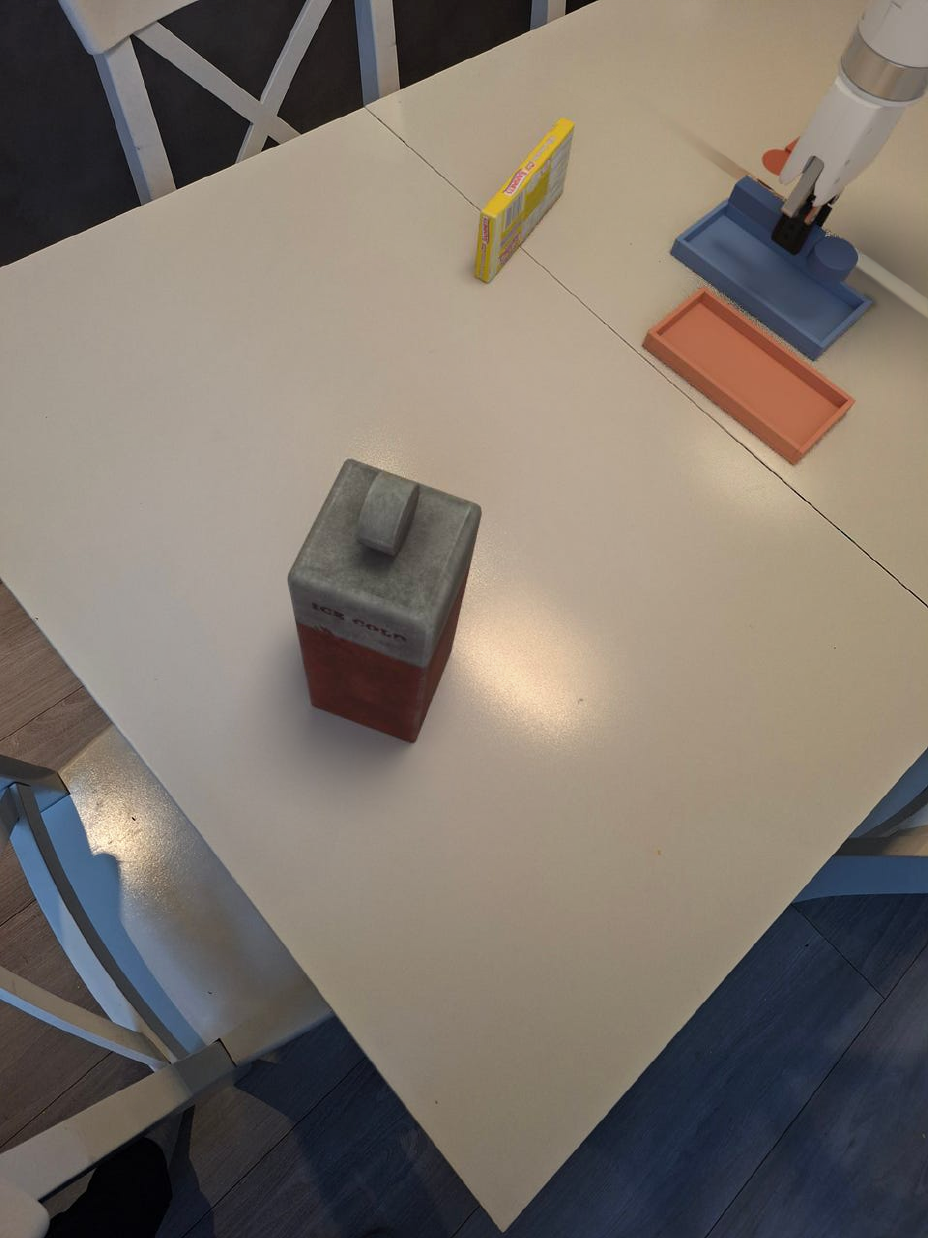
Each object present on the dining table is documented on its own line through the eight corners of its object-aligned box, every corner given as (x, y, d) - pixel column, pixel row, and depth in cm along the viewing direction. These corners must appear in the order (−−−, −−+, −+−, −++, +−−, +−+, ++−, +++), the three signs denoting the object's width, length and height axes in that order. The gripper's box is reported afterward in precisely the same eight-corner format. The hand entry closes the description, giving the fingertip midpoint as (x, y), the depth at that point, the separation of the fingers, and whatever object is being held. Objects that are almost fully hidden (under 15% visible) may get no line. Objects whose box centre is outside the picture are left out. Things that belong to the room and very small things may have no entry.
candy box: (546, 184, 97) (561, 114, 90) (563, 192, 97) (579, 123, 89) (471, 275, 91) (479, 208, 83) (489, 284, 91) (499, 218, 83)
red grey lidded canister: (327, 601, 75) (305, 388, 49) (452, 647, 74) (495, 455, 49) (283, 695, 71) (233, 517, 46) (414, 744, 71) (438, 592, 45)
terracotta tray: (846, 412, 88) (856, 400, 86) (793, 465, 85) (803, 453, 83) (697, 299, 92) (703, 284, 91) (641, 345, 89) (647, 331, 87)
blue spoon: (719, 207, 89) (728, 188, 87) (745, 187, 91) (754, 168, 89) (833, 290, 86) (844, 273, 84) (857, 268, 88) (869, 251, 86)
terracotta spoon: (817, 120, 106) (826, 102, 104) (847, 140, 105) (857, 123, 103) (748, 174, 101) (755, 157, 99) (778, 196, 100) (787, 179, 98)
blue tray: (862, 315, 94) (872, 301, 92) (813, 361, 91) (822, 348, 89) (721, 212, 98) (727, 197, 96) (669, 252, 95) (675, 237, 93)
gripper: (904, -3, 75) (806, 182, 92) (798, 74, 70) (714, 256, 87) (978, 44, 74) (865, 223, 91) (876, 127, 68) (775, 302, 85)
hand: (792, 238), depth 88 cm, fingers closed on blue spoon, 2 cm apart
